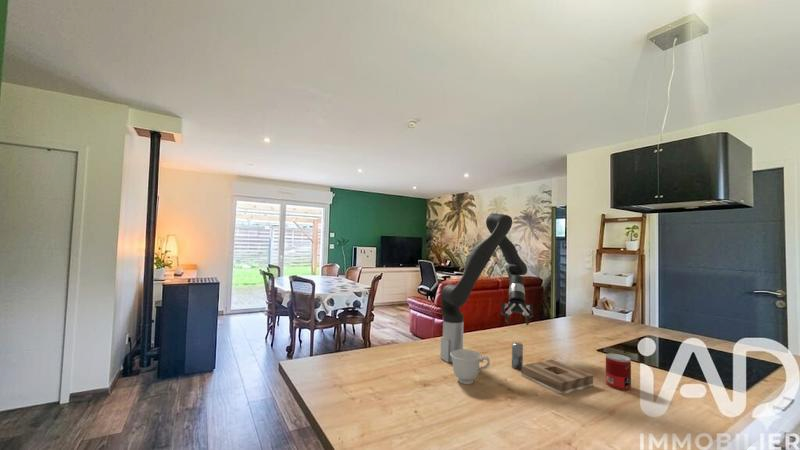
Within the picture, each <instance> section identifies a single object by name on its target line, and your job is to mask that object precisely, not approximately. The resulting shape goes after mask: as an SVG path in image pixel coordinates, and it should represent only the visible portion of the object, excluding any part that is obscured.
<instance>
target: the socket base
mask: <svg viewBox="0 0 800 450" xmlns="http://www.w3.org/2000/svg"><path fill="white" fill-rule="evenodd" d="M520 372H521V374H520V376H521V377H523V378H525V379H528V380H529V381H531V382H533V383H536V384H538V385H540V386H542V387H544V388H546V389H548V390H550V391H552V392H554V393H557V394H558V395H561V396H562V395H565V394H568V393H573V392H577V391H581V390H583V389H587V388H591V387H593V386H594V375H593V374H591V373H589V372H586V371H583V370H580V369H578V368H575V367H573V366H571V365H568V364H566V363H563V362H560V361H557V360H555V359H548V360H543V361H538V362H532V363H527V364H523V365H522V366H521V371H520Z"/></svg>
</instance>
